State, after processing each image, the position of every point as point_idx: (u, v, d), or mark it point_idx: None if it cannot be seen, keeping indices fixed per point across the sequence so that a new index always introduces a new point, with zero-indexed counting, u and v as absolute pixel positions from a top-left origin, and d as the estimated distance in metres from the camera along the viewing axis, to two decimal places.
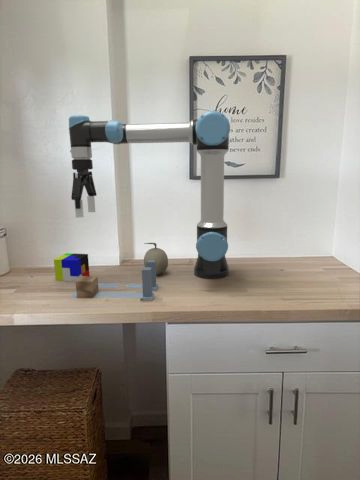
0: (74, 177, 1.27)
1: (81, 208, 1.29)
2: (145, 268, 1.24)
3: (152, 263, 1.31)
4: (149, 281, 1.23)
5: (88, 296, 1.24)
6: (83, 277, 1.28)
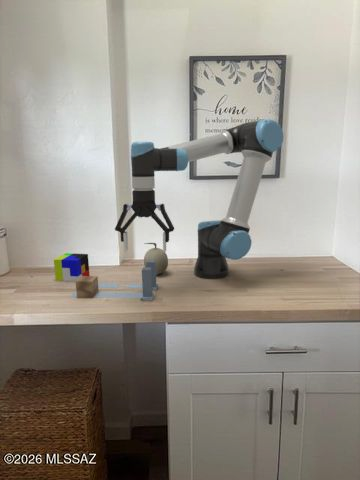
0: None
1: (124, 242, 1.21)
2: (145, 268, 1.24)
3: (152, 263, 1.31)
4: (149, 281, 1.23)
5: (88, 296, 1.24)
6: (83, 277, 1.28)
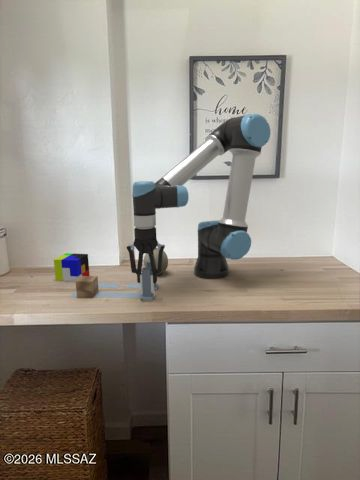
0: None
1: None
2: (145, 268, 1.24)
3: None
4: (149, 281, 1.23)
5: (88, 296, 1.24)
6: (83, 277, 1.28)
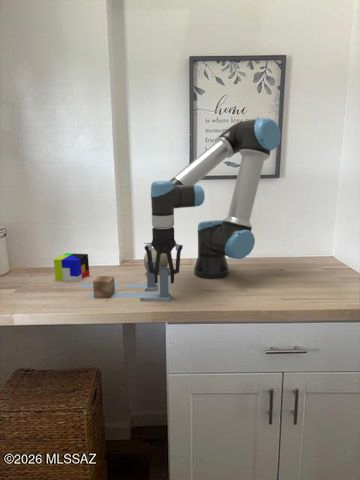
0: None
1: (158, 283, 1.23)
2: (162, 268, 1.23)
3: None
4: (167, 281, 1.22)
5: (105, 296, 1.24)
6: (100, 277, 1.27)
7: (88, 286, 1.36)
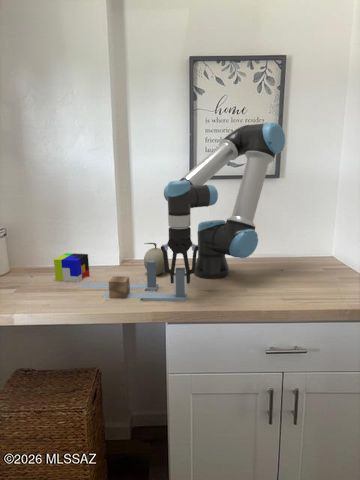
0: None
1: (174, 283, 1.23)
2: (178, 268, 1.23)
3: (152, 263, 1.31)
4: (183, 281, 1.22)
5: (121, 297, 1.23)
6: (115, 277, 1.27)
7: (88, 286, 1.36)
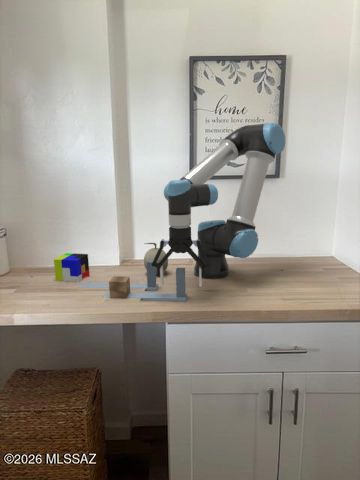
0: None
1: None
2: (179, 268, 1.23)
3: None
4: (183, 281, 1.22)
5: (121, 297, 1.23)
6: (115, 277, 1.27)
7: (88, 286, 1.36)
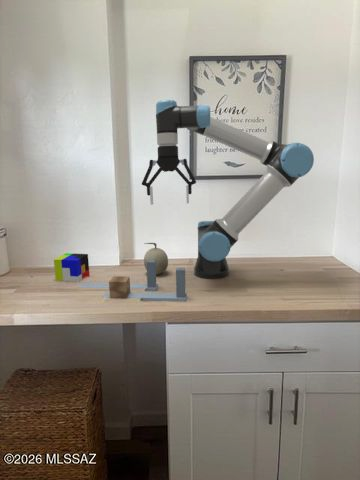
0: None
1: (150, 195, 1.31)
2: (179, 268, 1.23)
3: (152, 263, 1.31)
4: (183, 281, 1.22)
5: (121, 297, 1.23)
6: (115, 277, 1.27)
7: (88, 286, 1.36)
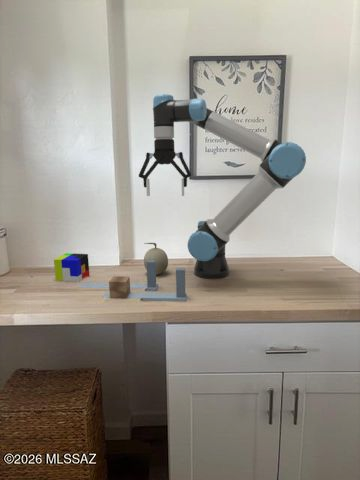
0: None
1: (146, 187, 1.35)
2: (179, 268, 1.23)
3: (152, 263, 1.31)
4: (183, 281, 1.22)
5: (121, 297, 1.23)
6: (115, 277, 1.27)
7: (88, 286, 1.36)
